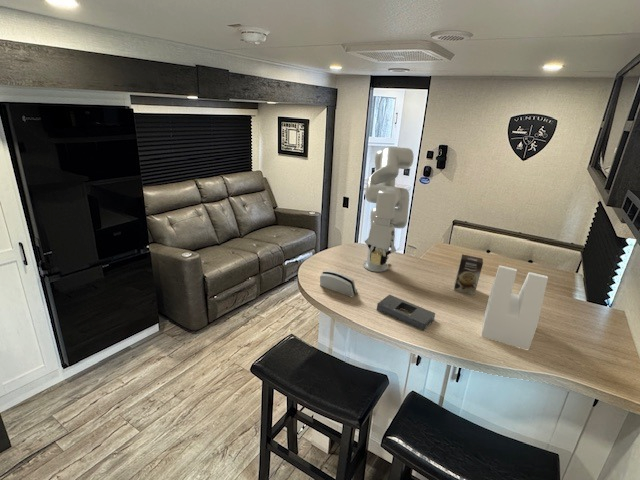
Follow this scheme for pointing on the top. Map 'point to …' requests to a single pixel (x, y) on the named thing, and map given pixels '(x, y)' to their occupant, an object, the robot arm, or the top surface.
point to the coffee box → (468, 274)
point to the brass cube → (376, 257)
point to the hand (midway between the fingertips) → (377, 261)
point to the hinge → (338, 282)
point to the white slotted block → (514, 308)
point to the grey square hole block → (417, 318)
